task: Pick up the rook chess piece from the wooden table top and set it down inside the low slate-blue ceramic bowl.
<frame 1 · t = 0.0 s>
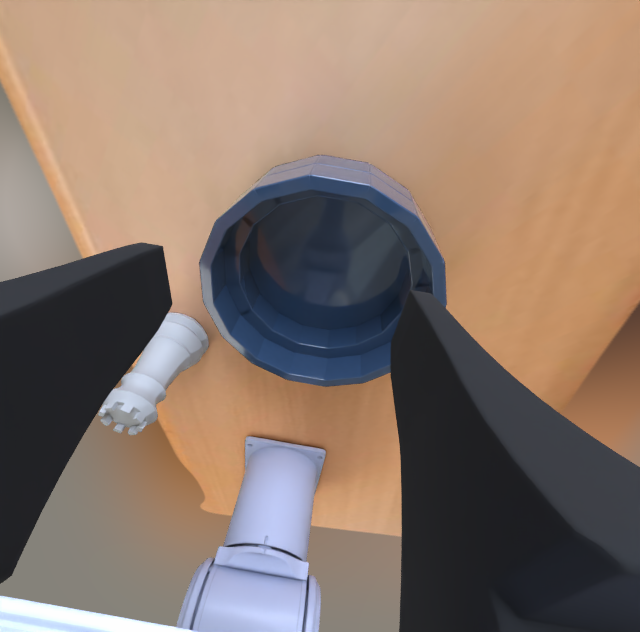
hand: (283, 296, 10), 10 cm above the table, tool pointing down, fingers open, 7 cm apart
bowl: (327, 262, 20), on the table
rook chess piece: (183, 330, 25), on the table
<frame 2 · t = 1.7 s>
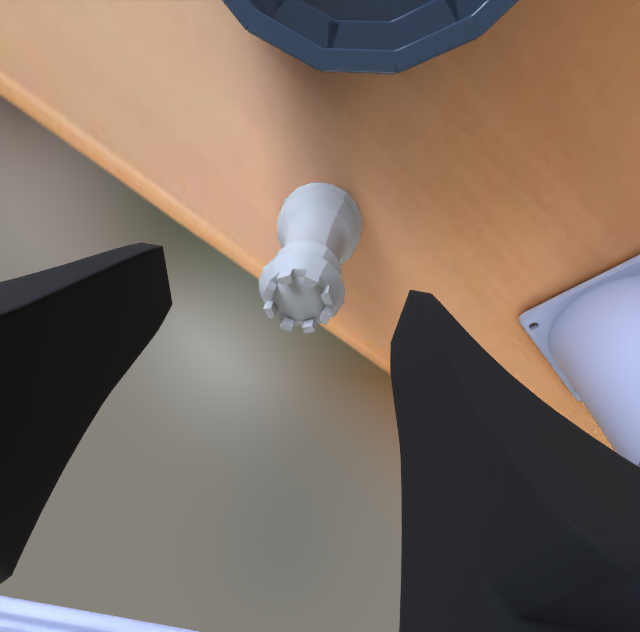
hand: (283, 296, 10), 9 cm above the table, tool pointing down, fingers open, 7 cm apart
rook chess piece: (321, 220, 18), on the table
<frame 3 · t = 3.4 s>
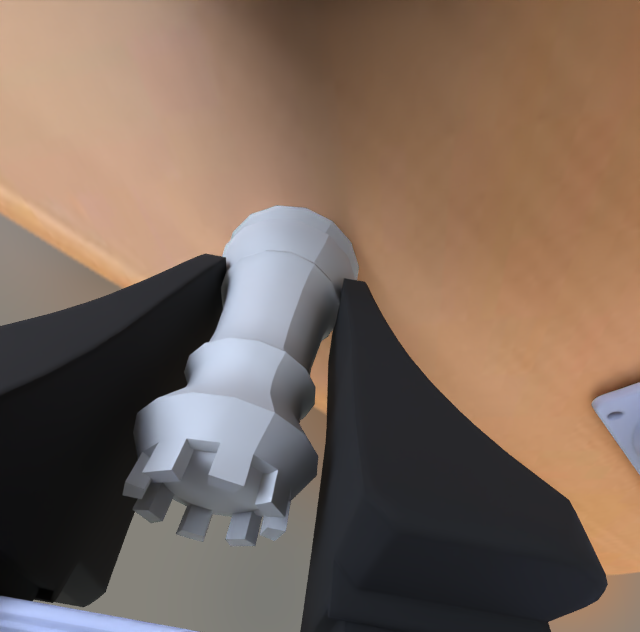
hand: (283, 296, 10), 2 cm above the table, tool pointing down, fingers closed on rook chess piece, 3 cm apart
rook chess piece: (295, 262, 12), on the table, touching gripper
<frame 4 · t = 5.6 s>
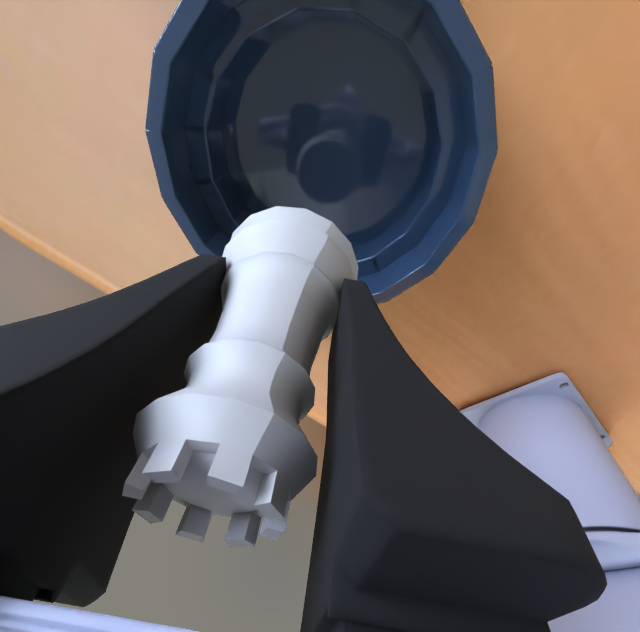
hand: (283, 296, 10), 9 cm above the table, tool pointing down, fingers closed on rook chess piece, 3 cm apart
bowl: (325, 152, 16), on the table
rook chess piece: (294, 262, 12), point 7 cm above the table, touching gripper
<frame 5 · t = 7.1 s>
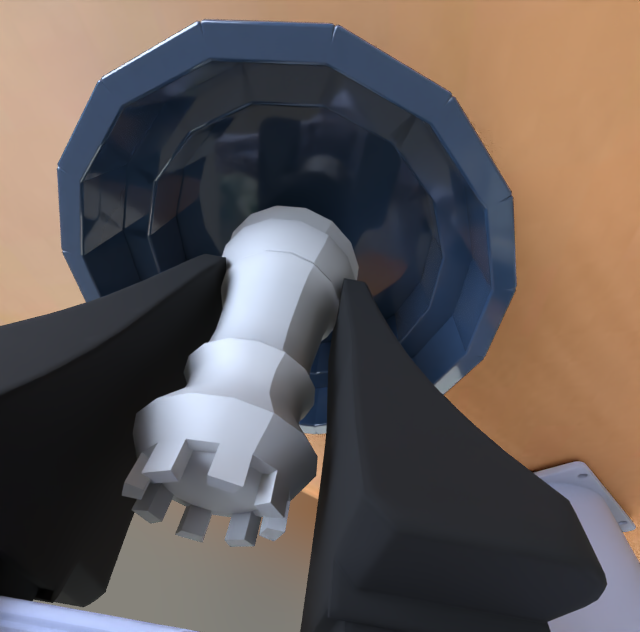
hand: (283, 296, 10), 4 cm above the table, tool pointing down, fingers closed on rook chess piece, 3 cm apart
bowl: (303, 241, 13), on the table
rook chess piece: (295, 262, 12), point 2 cm above the table, touching gripper
when the fingers open (3 cm above the table, at t = 7.9 s): rook chess piece stays where it is, resting on bowl.
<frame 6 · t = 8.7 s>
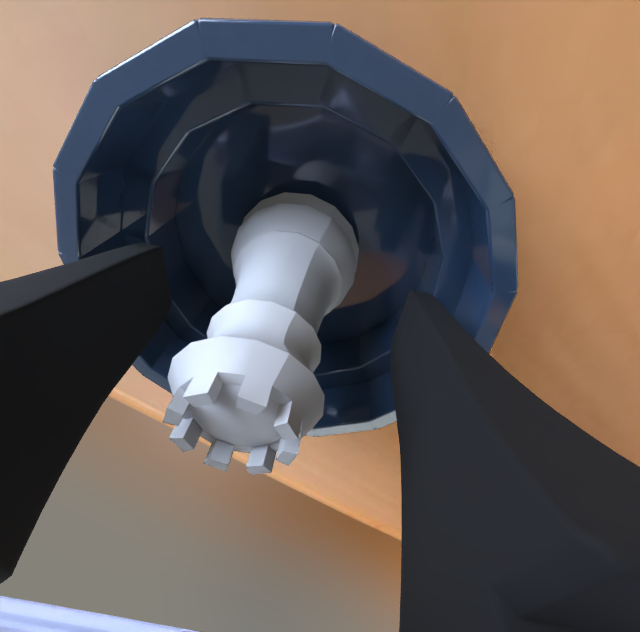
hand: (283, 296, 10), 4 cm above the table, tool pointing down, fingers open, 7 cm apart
bowl: (302, 242, 13), on the table
rook chess piece: (300, 246, 13), resting on bowl
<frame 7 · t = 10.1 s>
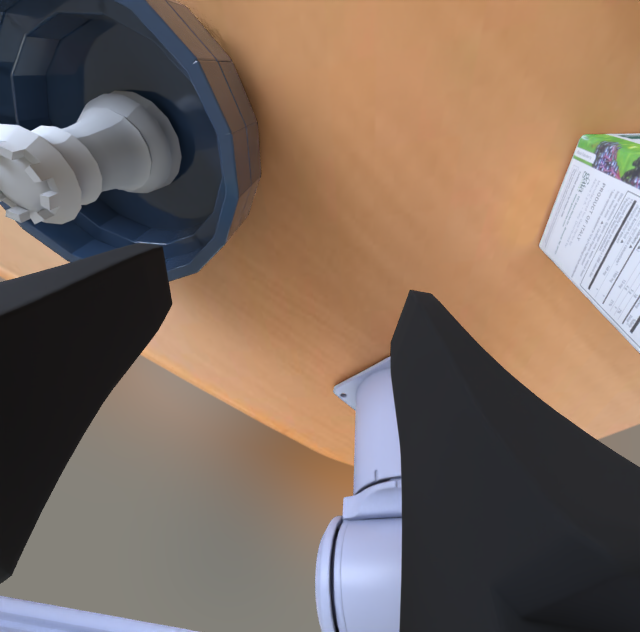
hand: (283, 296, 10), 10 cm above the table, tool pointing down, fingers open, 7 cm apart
bowl: (149, 140, 17), on the table
rook chess piece: (144, 141, 17), resting on bowl
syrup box: (610, 196, 17), on the table
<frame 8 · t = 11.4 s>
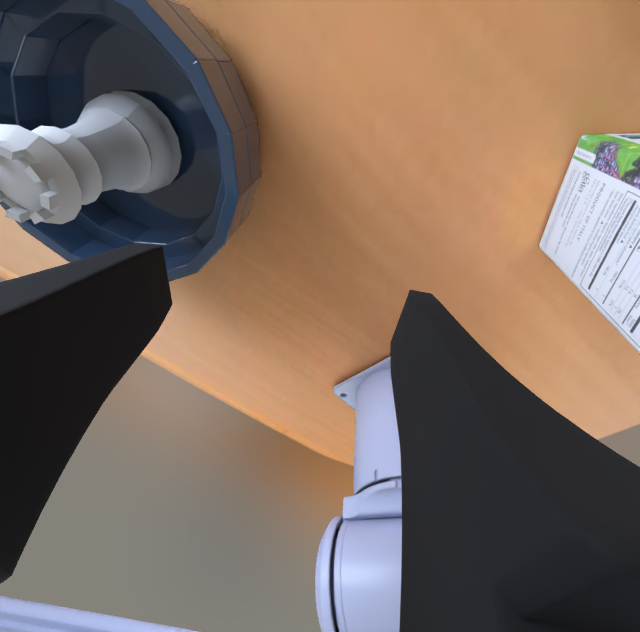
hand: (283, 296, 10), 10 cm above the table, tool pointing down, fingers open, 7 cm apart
bowl: (149, 140, 17), on the table
rook chess piece: (144, 141, 17), resting on bowl
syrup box: (610, 196, 17), on the table
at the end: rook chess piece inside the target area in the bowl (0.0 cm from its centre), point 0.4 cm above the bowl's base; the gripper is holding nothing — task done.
